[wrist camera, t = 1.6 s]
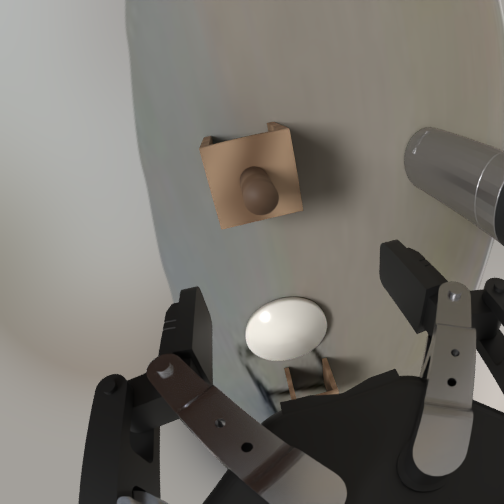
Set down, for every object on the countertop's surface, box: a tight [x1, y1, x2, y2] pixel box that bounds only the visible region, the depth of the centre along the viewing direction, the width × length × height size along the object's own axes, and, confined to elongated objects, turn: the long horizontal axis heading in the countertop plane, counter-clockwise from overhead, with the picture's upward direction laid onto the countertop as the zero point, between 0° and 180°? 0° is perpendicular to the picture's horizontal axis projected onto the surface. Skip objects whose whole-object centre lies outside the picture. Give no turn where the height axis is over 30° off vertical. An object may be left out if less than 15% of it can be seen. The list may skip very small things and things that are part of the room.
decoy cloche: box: [284, 358, 339, 400], centre depth 48 cm, size 8×8×13 cm
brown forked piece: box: [199, 122, 303, 229], centre depth 28 cm, size 8×8×13 cm
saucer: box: [245, 297, 327, 361], centre depth 46 cm, size 13×13×1 cm
